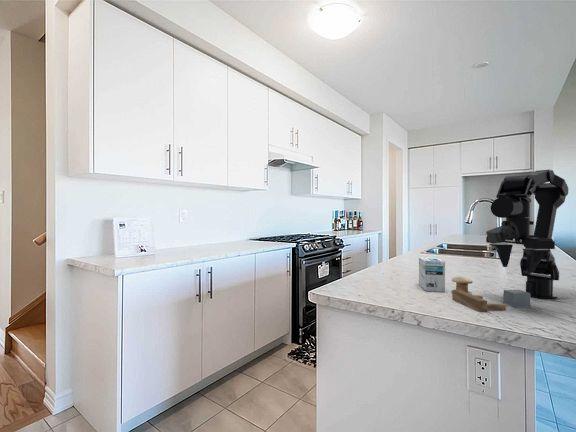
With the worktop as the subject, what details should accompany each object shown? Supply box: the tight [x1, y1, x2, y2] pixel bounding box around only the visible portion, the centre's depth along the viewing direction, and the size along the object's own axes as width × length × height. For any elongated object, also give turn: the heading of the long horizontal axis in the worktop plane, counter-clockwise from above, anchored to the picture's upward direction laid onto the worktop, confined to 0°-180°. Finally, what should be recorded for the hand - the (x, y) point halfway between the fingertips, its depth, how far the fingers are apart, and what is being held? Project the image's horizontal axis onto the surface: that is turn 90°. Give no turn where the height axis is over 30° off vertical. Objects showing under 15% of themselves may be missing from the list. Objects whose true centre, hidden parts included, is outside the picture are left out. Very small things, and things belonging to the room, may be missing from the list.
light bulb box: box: [418, 256, 446, 293], centre depth 110 cm, size 11×7×11 cm, turn 168°
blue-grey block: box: [502, 289, 531, 308], centre depth 91 cm, size 5×4×4 cm
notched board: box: [451, 289, 507, 313], centre depth 90 cm, size 8×12×3 cm
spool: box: [451, 276, 473, 295], centre depth 102 cm, size 6×6×5 cm
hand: (517, 269), depth 91 cm, fingers open, 9 cm apart
